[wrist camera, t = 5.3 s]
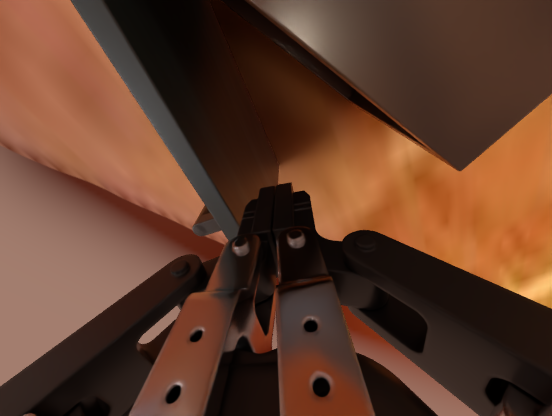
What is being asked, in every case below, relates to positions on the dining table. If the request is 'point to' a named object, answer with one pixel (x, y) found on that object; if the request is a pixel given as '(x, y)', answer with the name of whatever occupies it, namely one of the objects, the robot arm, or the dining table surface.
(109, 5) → the door
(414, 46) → the cupboard
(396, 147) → the dining table surface
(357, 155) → the dining table surface
